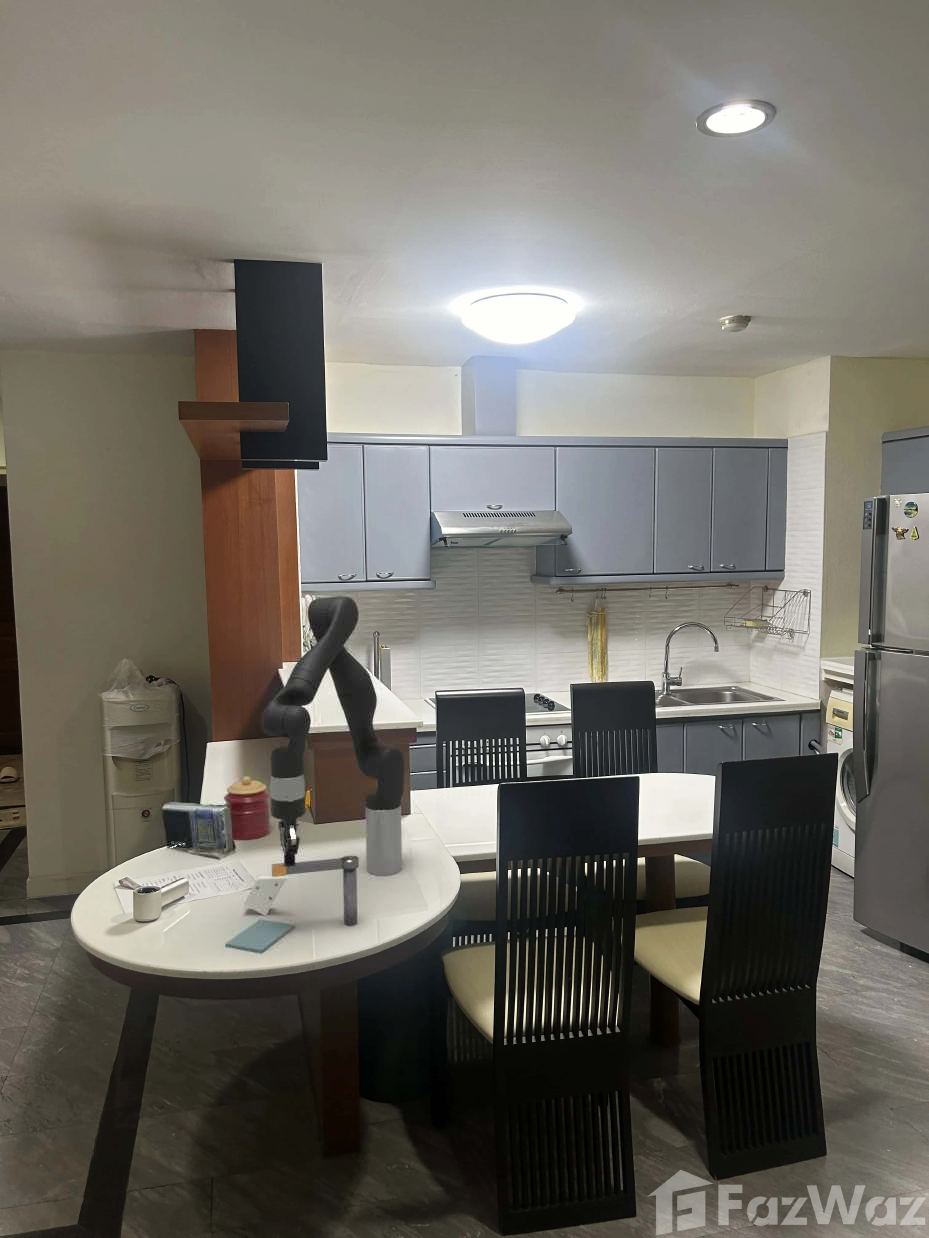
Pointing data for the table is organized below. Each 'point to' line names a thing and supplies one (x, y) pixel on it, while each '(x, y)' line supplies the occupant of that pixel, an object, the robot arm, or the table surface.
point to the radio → (199, 829)
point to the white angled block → (264, 893)
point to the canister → (248, 809)
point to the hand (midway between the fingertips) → (289, 869)
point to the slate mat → (260, 936)
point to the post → (350, 897)
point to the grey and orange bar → (315, 866)
